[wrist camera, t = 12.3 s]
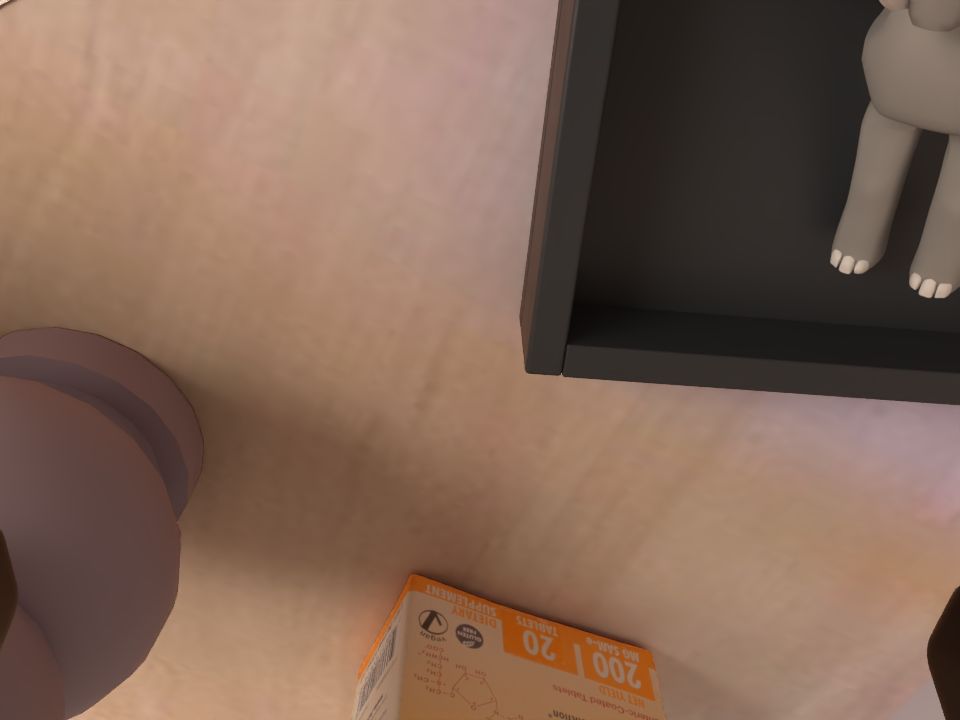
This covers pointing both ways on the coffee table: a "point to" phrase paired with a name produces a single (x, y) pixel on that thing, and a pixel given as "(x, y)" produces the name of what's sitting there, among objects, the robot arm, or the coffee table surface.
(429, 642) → the supplement box
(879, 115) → the elephant figurine
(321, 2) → the coffee table surface
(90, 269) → the coffee table surface
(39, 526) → the cat figurine
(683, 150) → the tray
